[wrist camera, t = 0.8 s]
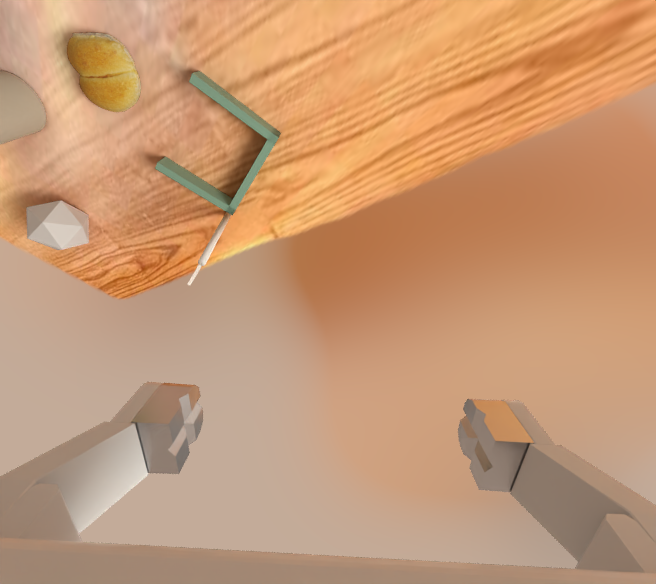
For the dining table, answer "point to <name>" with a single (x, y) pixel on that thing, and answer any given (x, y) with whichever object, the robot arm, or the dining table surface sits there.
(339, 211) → the dining table surface
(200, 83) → the green pocket
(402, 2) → the dining table surface
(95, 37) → the bread roll
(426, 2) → the dining table surface
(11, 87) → the travel mug
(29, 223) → the die
